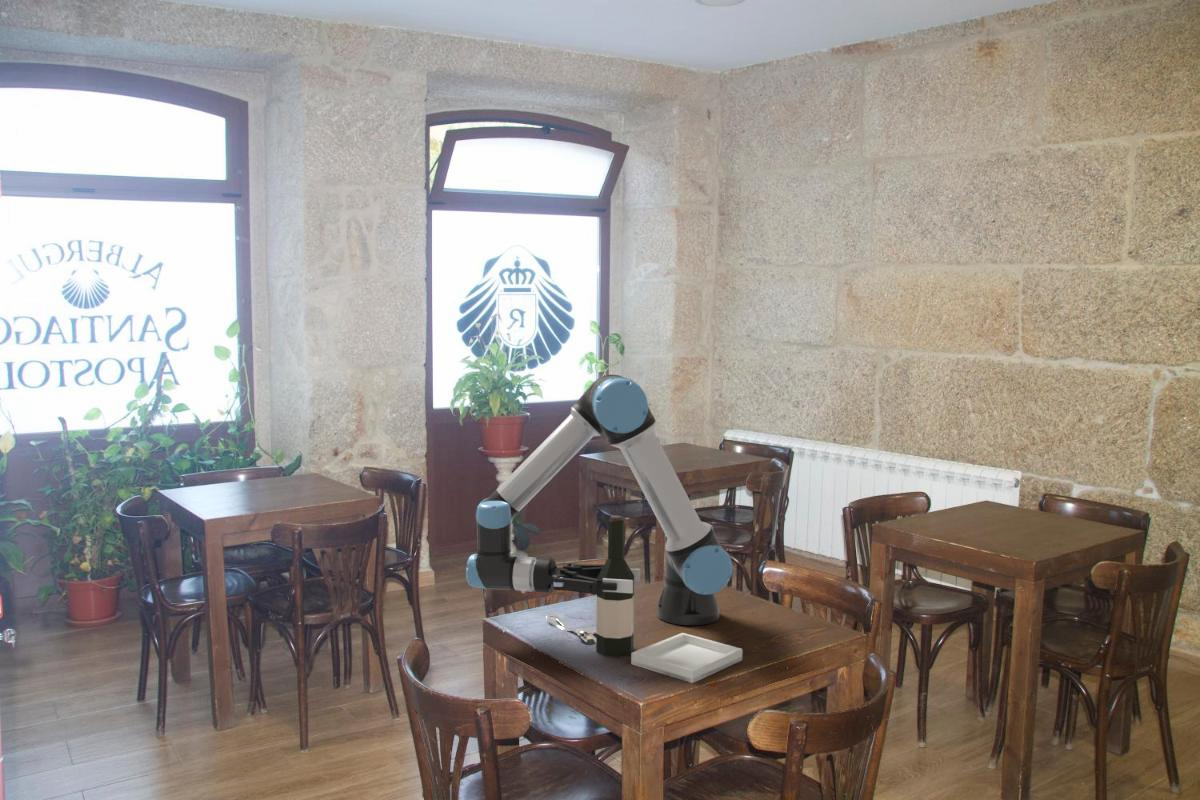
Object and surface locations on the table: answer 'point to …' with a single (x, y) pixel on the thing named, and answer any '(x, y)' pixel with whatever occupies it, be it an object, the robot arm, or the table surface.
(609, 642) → the wine bottle
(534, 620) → the table surface
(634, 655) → the serving tray
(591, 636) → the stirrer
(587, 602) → the table surface
